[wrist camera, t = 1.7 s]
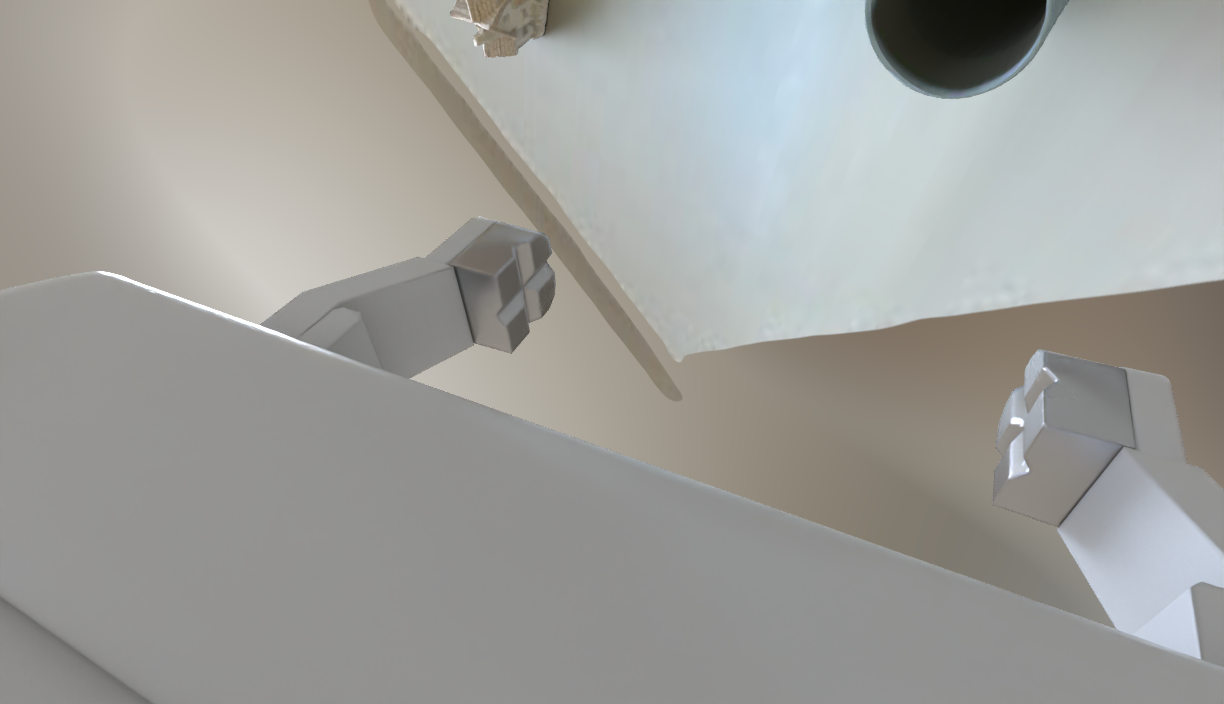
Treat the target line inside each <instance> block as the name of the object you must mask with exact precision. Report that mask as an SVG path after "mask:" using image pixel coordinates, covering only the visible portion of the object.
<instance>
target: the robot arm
mask: <svg viewBox="0 0 1224 704" xmlns="http://www.w3.org/2000/svg"><path fill="white" fill-rule="evenodd" d="M551 254H552V251H551V245H550V239H549V237H547V236H546V235H545V234H544V233H542V232H538V231H534V230H529V229H526V228H522V227H518V226H515V225H510V224H506V223H503V222H498V221H494V220H490V219H486V218H482V217H476V218H471V219H470V220H469V221H468V222H467V223H466V224H464V225H463V226H462V227H461V228H460V229H458V230H457V231H456V232H455V233H454V234H453V235H451V236H450V237H449V238H448V239H447V240H446V241H444V242H443V243H442V244H441V245H440V246H439V247H438V248H436V249H435V250H434V251H433V252H432V253H430V254H429V255H428V256H427V257H426V258H420V257H416V258H413V259H409V260H406V261H403V262H400V263H396V264H393V265H390V266H386V267H383V268H380V269H377V270H374V271H370V272H367V273H364V274H360V275H357V276H354V277H350V278H347V279H344V280H341V281H337V282H334V283H331V284H327V285H324V286H321V287H318V288H314V289H311V290H308V291H305V292H302V293H301V294H299V295H298V296H297V297H295V298H294V299H293V300H292V301H290V302H289V303H288V304H286V305H285V306H284V307H282V308H281V309H280V310H278V311H277V312H276V313H274V314H273V315H272V316H271V317H269V318H268V319H267V320H265V321H264V322H263V323H261V324H260V325H259V326H258V325H256V324H253V323H250V322H247V321H244V320H241V319H239V318H236V317H233V316H230V315H227V314H224V313H221V312H219V311H216V310H213V309H210V308H208V307H205V306H202V305H199V304H196V303H193V302H191V301H188V300H185V299H182V298H179V297H177V296H174V295H171V294H168V293H165V292H163V291H160V290H157V289H154V288H151V287H148V286H146V285H143V284H140V283H138V282H135V281H132V280H130V279H127V278H124V277H122V276H119V275H116V274H112V273H107V272H100V271H99V272H98V271H97V272H87V273H80V274H74V275H68V276H63V277H57V278H52V279H47V280H43V281H38V282H34V283H30V284H25V285H21V286H16V287H12V288H8V289H4V290H0V704H1224V489H1223V488H1222V487H1221V486H1220V485H1218V484H1217V483H1216V482H1215V481H1214V480H1213V479H1212V478H1211V477H1210V476H1209V475H1208V474H1207V473H1206V472H1205V471H1204V470H1203V469H1202V468H1200V467H1197V466H1193V465H1189V464H1188V463H1187V459H1186V454H1185V449H1184V445H1183V441H1182V436H1181V430H1180V426H1179V421H1178V416H1177V412H1176V407H1175V402H1174V398H1173V393H1172V388H1171V383H1170V381H1169V380H1168V379H1167V378H1166V377H1165V376H1163V375H1158V374H1154V373H1149V372H1143V371H1139V370H1134V369H1129V368H1125V367H1120V368H1119V367H1114V366H1110V365H1106V364H1101V363H1096V362H1092V361H1088V360H1084V359H1080V358H1075V357H1071V356H1066V355H1062V354H1058V353H1053V352H1049V351H1045V350H1040V349H1039V350H1038V351H1037V352H1036V353H1035V354H1034V355H1033V356H1032V358H1031V360H1030V361H1029V363H1028V365H1027V367H1026V369H1025V385H1024V386H1022V387H1020V388H1017V389H1015V390H1013V392H1012V394H1011V396H1010V398H1009V400H1008V402H1007V404H1006V405H1005V408H1004V411H1003V414H1002V417H1001V419H1000V422H999V427H998V433H997V440H996V449H997V450H998V452H999V453H1000V454H1001V456H1002V459H1001V460H1000V462H999V464H998V465H997V467H996V469H995V471H994V489H993V505H994V506H996V507H999V508H1002V509H1005V510H1008V511H1011V512H1014V513H1017V514H1020V515H1023V516H1026V517H1029V518H1032V519H1035V520H1037V521H1040V522H1044V523H1046V524H1049V525H1052V526H1055V527H1058V529H1057V531H1058V532H1059V534H1060V536H1061V537H1062V539H1063V541H1064V542H1065V544H1066V546H1067V547H1068V549H1069V551H1070V552H1071V554H1072V556H1073V557H1074V559H1075V561H1076V562H1077V564H1078V566H1079V567H1080V569H1081V571H1082V572H1083V574H1084V576H1085V577H1086V579H1087V581H1088V582H1089V584H1090V586H1091V587H1092V589H1093V591H1094V592H1095V594H1096V596H1097V597H1098V599H1099V601H1100V602H1101V604H1102V606H1103V607H1104V609H1105V611H1106V612H1107V614H1108V616H1109V617H1110V619H1111V621H1112V622H1113V624H1114V626H1115V627H1116V629H1114V628H1111V627H1108V626H1105V625H1103V624H1100V623H1097V622H1094V621H1091V620H1088V619H1086V618H1082V617H1080V616H1077V615H1074V614H1071V613H1069V612H1066V611H1063V610H1060V609H1057V608H1054V607H1051V606H1049V605H1046V604H1043V603H1040V602H1038V601H1035V600H1032V599H1029V598H1026V597H1023V596H1020V595H1018V594H1015V593H1012V592H1009V591H1007V590H1004V589H1001V588H998V587H995V586H992V585H989V584H987V583H984V582H981V581H978V580H975V579H972V578H970V577H967V576H964V575H961V574H958V573H955V572H953V571H950V570H947V569H944V568H941V567H938V566H935V565H933V564H930V563H927V562H924V561H921V560H919V559H916V558H913V557H910V556H907V555H904V554H902V553H899V552H896V551H893V550H890V549H887V548H885V547H882V546H879V545H876V544H873V543H871V542H868V541H865V540H862V539H859V538H856V537H853V536H851V535H848V534H845V533H842V532H839V531H837V530H834V529H831V528H828V527H825V526H823V525H820V524H817V523H814V522H811V521H809V520H806V519H803V518H800V517H797V516H794V515H792V514H789V513H786V512H783V511H781V510H777V509H775V508H772V507H769V506H766V505H764V504H761V503H758V502H755V501H752V500H750V499H747V498H744V497H741V496H738V495H736V494H733V493H730V492H727V491H724V490H722V489H718V488H716V487H713V486H710V485H707V484H704V483H702V482H699V481H696V480H693V479H690V478H688V477H685V476H682V475H679V474H676V473H674V472H670V471H668V470H665V469H662V468H659V467H657V466H654V465H651V464H648V463H645V462H642V461H639V460H637V459H634V458H631V457H628V456H625V455H622V454H620V453H617V452H614V451H611V450H608V449H606V448H602V447H600V446H597V445H594V444H591V443H588V442H586V441H583V440H580V439H577V438H575V437H572V436H569V435H566V434H563V433H560V432H557V431H555V430H552V429H549V428H546V427H543V426H541V425H538V424H535V423H532V422H529V421H526V420H523V419H521V418H518V417H515V416H512V415H509V414H507V413H504V412H501V411H498V410H495V409H493V408H490V407H487V406H484V405H481V404H478V403H476V402H473V401H470V400H467V399H464V398H461V397H459V396H456V395H453V394H450V393H447V392H445V391H442V390H439V389H436V388H433V387H430V386H427V385H425V384H422V383H419V382H416V381H414V380H411V379H409V378H411V377H413V376H415V375H417V374H419V373H421V372H422V371H425V370H427V369H429V368H431V367H433V366H434V365H436V364H438V363H440V362H442V361H444V360H446V359H448V358H450V357H452V356H454V355H456V354H458V353H460V352H462V351H463V350H466V349H467V348H469V347H471V346H473V345H474V343H476V344H479V345H483V346H487V347H490V348H493V349H497V350H500V351H504V352H507V353H511V354H512V352H513V351H514V350H515V349H516V348H517V347H518V345H519V344H520V343H521V342H522V341H523V339H524V338H525V337H526V336H527V335H528V334H529V332H530V330H529V323H530V322H533V321H535V320H538V319H540V318H542V317H543V316H544V315H545V313H546V312H547V311H548V310H549V308H550V305H551V303H552V300H553V298H554V295H555V286H556V281H555V273H554V272H553V270H552V268H551V267H550V266H549V264H548V263H547V259H548V258H549V256H550V255H551Z"/></svg>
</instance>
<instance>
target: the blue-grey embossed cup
mask: <svg viewBox="0 0 1224 704" xmlns="http://www.w3.org/2000/svg"><path fill="white" fill-rule="evenodd" d="M1068 1H1069V0H865V22H866V29H867V33H868V37H869V41H870V43H871V45H872V47H873V49H874V51H875V53H876V56H877V58H878V59H879V61H880V62H881V63H882V64H883V66H884V67H885V68H886V69H887V70H888V71H889V72H890V73H891V74H892V75H893V76H894V77H895V78H896V79H897V80H899V81H900V82H901V83H903V84H904V85H905V86H907V87H909V88H910V89H912V90H914V91H916V92H919V93H922V94H924V95H927V96H932V97H937V98H942V99H959V98H968V97H972V96H976V95H979V94H982V93H985V92H988V91H990V90H993V89H995V88H997V87H999V86H1001V85H1002V84H1004V83H1006V82H1007V81H1009V80H1010V79H1012V78H1013V77H1014V76H1016V75H1017V74H1018V73H1019V72H1020V71H1022V70H1023V69H1024V68H1025V67H1026V66H1027V65H1028V64H1029V63H1030V62H1031V60H1032V59H1033V58H1034V57H1035V55H1036V54H1037V52H1038V51H1039V49H1040V48H1041V46H1042V45H1043V43H1044V41H1045V39H1046V37H1047V36H1048V34H1049V32H1050V31H1051V29H1052V27H1053V26H1054V24H1055V22H1056V20H1057V18H1058V17H1059V15H1060V14H1061V13H1062V11H1063V9H1064V7H1065V6H1066V5H1067V3H1068Z"/></svg>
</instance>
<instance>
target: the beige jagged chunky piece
mask: <svg viewBox="0 0 1224 704" xmlns="http://www.w3.org/2000/svg"><path fill="white" fill-rule="evenodd" d="M548 2H549V0H457V1H456V3H455V5H454V9H453V10H452V11H451V12H450V17H452V18H455V19H459V20H465V21H468V22H470V23H473V24H476V27H477V29H478V32H477V33H476V34H475V35H474V36H473V41H474V45H475V46H479V45H482V44H483V49H484V52H483V54H484V55H485V56H486V57H487V58H488V57H493V58H494V57H496V56H498V57H505V56H514V55H517V54H518V49H519V48H520V47H522V46H523V45H524V44H525V43H526V42H527V41H528V40H529V39H536V38H539V37H541V36H543V35H544V32H545V30H544V29H545V27H546V26H545V23H546V20H547V8H548V5H547V4H548Z"/></svg>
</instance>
